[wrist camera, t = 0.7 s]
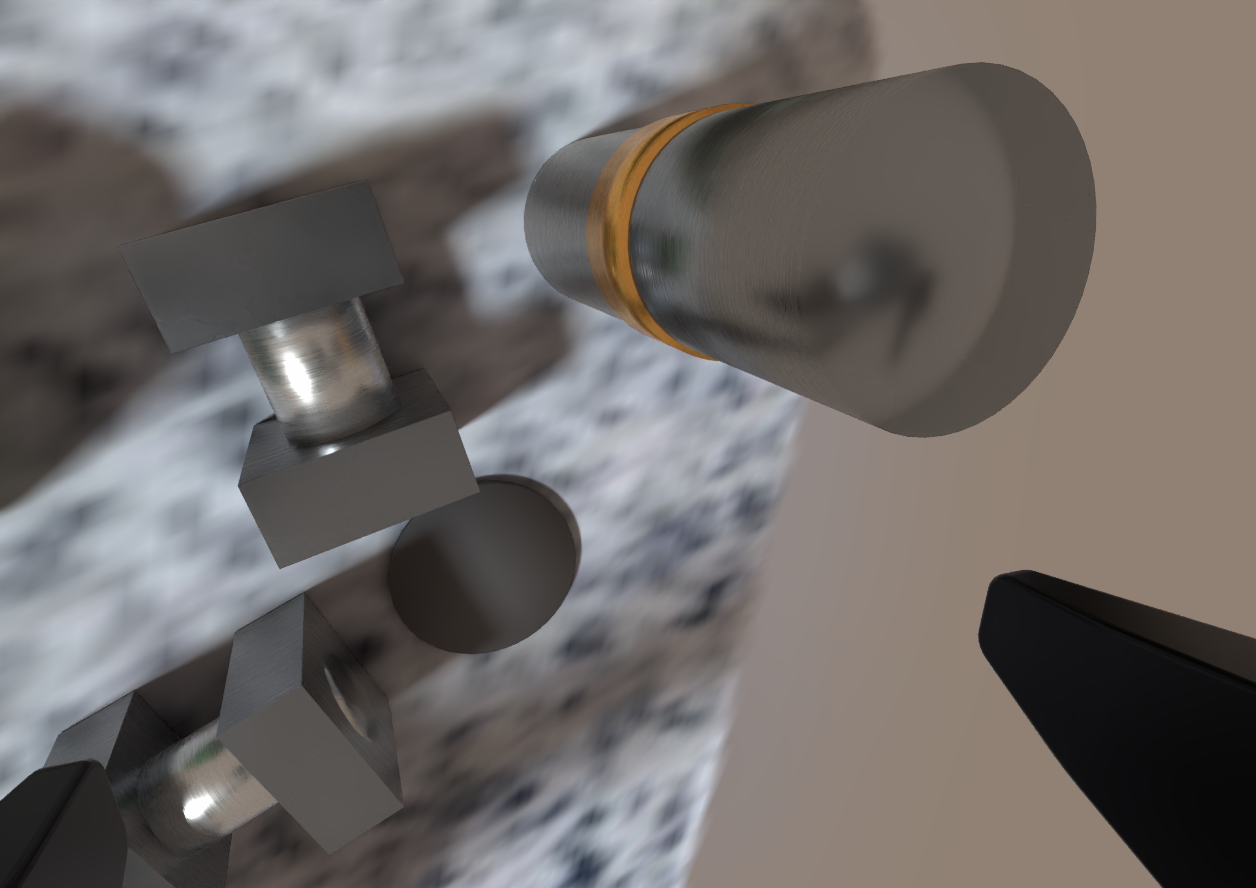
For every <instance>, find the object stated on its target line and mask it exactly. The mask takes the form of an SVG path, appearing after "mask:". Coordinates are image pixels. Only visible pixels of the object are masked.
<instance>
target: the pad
mask: <svg viewBox="0 0 1256 888" xmlns="http://www.w3.org/2000/svg"><path fill="white" fill-rule="evenodd" d="M477 484H478V487H479V490H480V492H478V493H476V494H473V495H471V496H468V497H465V498H463V499H460V500H458V501H455V502H452V503H450V504H447V505H445V506H442V507H439V508H437V509H434V510H432V511H429V512H426V513H424V514H421V515H419V516H416V517H414V518H411V519H410V521H409V522H408V523H407V525H406V526H405V528H404V529H403V530H402V532H401V534H400V536H399V538H398V540H397V542H396V544H395V547H394V550H393V552H392V557H391V561H390V570H389V580H390V589H391V594H392V598H393V602H394V605H395V607H396V610H397V612H398V614H399V616H400V617H401V619H402V620H403V622H404V623H405V624H406V626H407V627H408V628H409V629H410V630H411V631H412V632H413V633H414V634H415V635H416V636H418V637H419V638H420V639H422V640H423V641H425V642H427V643H428V644H430V645H432V646H435V647H437V648H439V649H443V650H446V651H449V652H455V653H463V654H478V653H487V652H493V651H497V650H500V649H504V648H507V647H509V646H512V645H514V644H516V643H519V642H520V641H522V640H524V639H526V638H528V637H529V636H531V635H532V634H533V633H535V632H536V631H538V630H539V629H540V628H541V627H542V626H543V625H545V624H546V623H547V622H548V621H549V620H550V618H551V617H552V616H553V615H554V614H555V613H556V611H557V610H558V609H559V607H560V606H561V604H562V603H563V601H564V599H565V597H566V595H567V593H568V591H569V588H570V586H571V583H572V579H573V576H574V570H575V547H574V541H573V538H572V534H571V532H570V530H569V527H568V525H567V523H566V522H565V520H564V519H563V517H562V516H561V514H560V513H559V511H558V510H557V509H556V508H555V507H554V506H553V505H552V504H551V503H550V502H549V501H548V500H547V499H546V498H544V497H543V496H542V495H540V494H538V493H537V492H535V491H534V490H531V489H529V488H527V487H524V486H522V485H518V484H515V483H510V482H503V481H482V482H477Z"/></svg>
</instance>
